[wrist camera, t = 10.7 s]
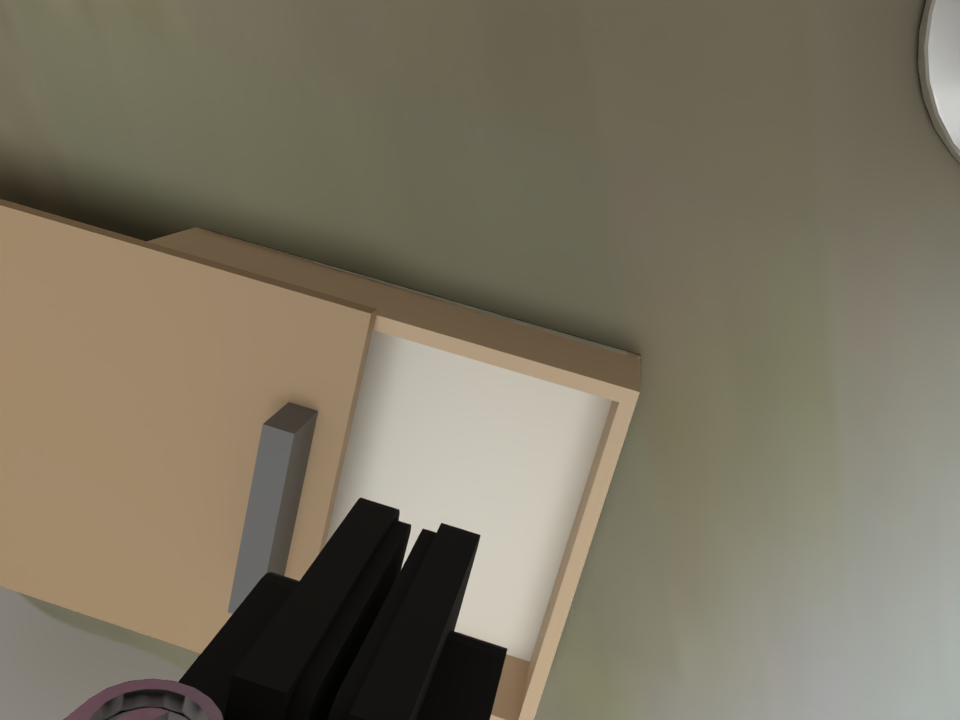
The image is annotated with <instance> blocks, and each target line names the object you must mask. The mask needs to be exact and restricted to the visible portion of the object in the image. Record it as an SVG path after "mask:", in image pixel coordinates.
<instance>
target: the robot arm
mask: <svg viewBox="0 0 960 720" xmlns="http://www.w3.org/2000/svg"><path fill="white" fill-rule="evenodd" d="M918 69H919V75H920V82H921V88H922V94H923V99H924V102H925V104H926V107H927V110H928V112H929V115H930V117H931V120H932V122H933V125H934V128H935V130H936V131H937V133H938V134H939V136H940V137H941V139H942V140H943V142H944V143H945V145H946V146H947V148H948V149H949V151H950V152H951V154H952V155H953V156H954V157H955V158H956V159H957V160H958V161H959V162H960V0H926V4H925V8H924V12H923V17H922V21H921V25H920V30H919V51H918ZM399 515H400V510H399V509H396V508H393V507H390V506H387V505H383V504H380V503H377V502H374V501H371V500H367V499H364V498H359V499H358V500H357V502H356V503H355V504H354V506H353V507H352V509H351V510H350V511H349V513H348V514H347V516H346V517H345V518H344V520H343V521H342V523H341V524H340V525H339V527H338V528H337V530H336V531H335V532H334V534H333V535H332V536H331V538H330V539H329V541H328V542H327V543H326V545H325V546H324V548H323V549H322V550H321V552H320V553H319V555H318V556H317V557H316V559H315V560H314V562H313V563H312V564H311V566H310V567H309V569H308V570H307V571H306V573H305V574H304V576H303V577H302V578H301V580H300V581H298V580H295V579H292V578H289V577H285V576H282V575H279V574H276V573H273V572H268V573H266V574H265V575H264V576H263V577H262V578H261V579H260V581H259V582H258V583H257V584H256V586H255V587H254V588H253V589H252V591H251V592H250V593H249V594H248V596H247V597H246V598H245V599H244V601H243V602H242V603H241V604H240V606H239V607H238V608H237V609H236V611H235V612H234V613H233V614H232V616H231V617H230V618H229V619H228V621H227V622H226V623H225V624H224V626H223V627H222V628H221V629H220V631H219V632H218V633H217V634H216V636H215V637H214V638H213V639H212V641H211V642H210V643H209V644H208V646H207V647H206V648H205V649H204V651H203V652H202V653H201V654H200V656H199V657H198V658H197V659H196V661H195V662H194V663H193V664H192V666H191V667H190V668H189V669H188V671H187V672H186V673H185V674H184V676H183V677H182V678H181V679H180V681H179V682H175V681H169V680H160V679H144V680H133V681H128V682H124V683H121V684H118V685H115V686H112V687H109V688H106V689H105V690H103V691H101V692H100V693H98V694H97V695H95V696H93V697H92V698H90V699H89V700H87V701H86V702H85V703H84V704H82V705H81V706H80V707H79V708H77V709H76V710H75V711H74V712H72V713H71V714H70V715H69V716H67V717H66V718H65V719H64V720H490V717H491V713H492V709H493V705H494V701H495V697H496V693H497V689H498V685H499V681H500V677H501V673H502V669H503V666H504V662H505V658H506V653H507V648H504V647H501V646H498V645H495V644H492V643H489V642H486V641H483V640H480V639H477V638H474V637H470V636H467V635H464V634H461V633H458V632H455V631H454V630H455V627H456V623H457V619H458V616H459V612H460V609H461V605H462V602H463V598H464V594H465V591H466V587H467V584H468V580H469V577H470V573H471V569H472V566H473V562H474V559H475V555H476V552H477V548H478V544H479V540H480V535H479V534H476V533H473V532H470V531H466V530H463V529H460V528H457V527H454V526H450V525H447V524H444V523H441V525H440V526H439V528H438V530H437V533H436V532H433V531H430V530H427V529H422V531H421V533H420V534H419V536H418V538H417V540H416V542H415V544H414V546H413V548H412V550H411V552H410V554H409V556H408V558H407V559H406V561H405V563H404V565H403V567H402V564H403V560H404V556H405V552H406V548H407V544H408V540H409V536H410V532H411V524H408V523H405V522H401V521H399ZM401 568H402V569H401Z"/></svg>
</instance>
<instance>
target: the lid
mask: <svg viewBox="0 0 960 720" xmlns="http://www.w3.org/2000/svg"><path fill="white" fill-rule="evenodd" d="M376 313H377V309H376V308H372V307H369V306H366V305H362V304H359V303H355V302H352V301H348V300H345V299H342V298H338V297H335V296H331V295H328V294H325V293H321V292H318V291H314V290H311V289H307V288H304V287H301V286H297V285H294V284H290V283H287V282H283V281H280V280H277V279H273V278H270V277H266V276H263V275H260V274H256V273H253V272H249V271H246V270H242V269H239V268H236V267H232V266H229V265H225V264H222V263H218V262H215V261H212V260H208V259H205V258H201V257H198V256H195V255H191V254H188V253H184V252H181V251H177V250H174V249H171V248H167V247H164V246H160V245H157V244H153V243H150V242H147V241H143V240H140V239H136V238H133V237H129V236H126V235H123V234H119V233H116V232H112V231H109V230H106V229H102V228H99V227H95V226H92V225H88V224H85V223H82V222H78V221H75V220H71V219H68V218H64V217H61V216H58V215H54V214H51V213H47V212H44V211H41V210H37V209H34V208H30V207H27V206H23V205H20V204H17V203H13V202H10V201H6V200H3V199H0V586H2V587H5V588H8V589H11V590H13V591H17V592H19V593H22V594H25V595H28V596H31V597H34V598H37V599H40V600H43V601H46V602H49V603H52V604H55V605H58V606H61V607H64V608H67V609H70V610H73V611H76V612H79V613H82V614H85V615H88V616H91V617H94V618H97V619H100V620H103V621H106V622H109V623H112V624H115V625H118V626H121V627H124V628H127V629H130V630H133V631H136V632H139V633H142V634H145V635H148V636H151V637H153V638H156V639H159V640H162V641H165V642H168V643H171V644H174V645H177V646H180V647H183V648H186V649H189V650H192V651H195V652H198V653H202V652H203V651H204V649H205V648H206V647H207V646H208V644H209V643H210V642H211V641H212V639H213V638H214V637H215V636H216V634H217V633H218V632H219V631H220V629H221V628H222V627H223V626H224V624H225V623H226V622H227V621H228V619H229V618H230V617H231V616H232V614H233V613H234V612H235V611H236V609H237V608H238V607H239V606H240V604H241V603H242V602H243V601H244V599H245V598H246V597H247V596H248V594H249V593H250V592H251V591H252V589H253V588H254V587H255V586H256V584H257V583H258V582H259V581H260V579H261V578H262V577H263V576H264V575H265V574H266V573H268V572H273V573H276V574H279V575H282V576H285V577H289V578H292V579H295V580H298V581H300V580H301V578H302V577H303V576H304V574H305V573H306V571H307V570H308V569H309V567H310V566H311V564H312V563H313V562H314V560H315V559H316V557H317V556H318V555H319V553H320V552H321V550H322V549H323V548H324V546H325V545H326V540H327V536H328V531H329V527H330V522H331V517H332V513H333V508H334V504H335V499H336V495H337V490H338V486H339V481H340V477H341V472H342V467H343V463H344V458H345V454H346V449H347V445H348V440H349V436H350V431H351V427H352V422H353V417H354V413H355V408H356V404H357V399H358V395H359V390H360V386H361V381H362V377H363V372H364V367H365V363H366V358H367V354H368V349H369V345H370V340H371V336H372V331H373V327H374V322H375V317H376Z"/></svg>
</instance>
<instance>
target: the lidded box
mask: <svg viewBox="0 0 960 720" xmlns="http://www.w3.org/2000/svg"><path fill="white" fill-rule="evenodd" d="M147 242H150V243H153V244H157V245H160V246H164V247H167V248H171V249H174V250H177V251H181V252H184V253H188V254H191V255H195V256H198V257H201V258H205V259H208V260H212V261H215V262H218V263H222V264H225V265H229V266H232V267H236V268H239V269H242V270H246V271H249V272H253V273H256V274H260V275H263V276H266V277H270V278H273V279H277V280H280V281H283V282H287V283H290V284H294V285H297V286H301V287H304V288H307V289H311V290H314V291H318V292H321V293H325V294H328V295H331V296H335V297H338V298H342V299H345V300H348V301H352V302H355V303H359V304H362V305H366V306H369V307H372V308H376V309H377V313H376V317H375V322H374V327H373V331H372V336H371V340H370V345H369V349H368V354H367V358H366V363H365V367H364V372H363V377H362V381H361V386H360V390H359V395H358V399H357V404H356V408H355V413H354V417H353V422H352V427H351V431H350V436H349V440H348V445H347V449H346V454H345V458H344V463H343V467H342V472H341V477H340V481H339V486H338V490H337V495H336V499H335V504H334V508H333V513H332V517H331V522H330V527H329V531H328V536H327V540H326V543H327V542H328V541H329V539H330V538H331V536H332V535H333V534H334V532H335V531H336V530H337V528H338V527H339V525H340V524H341V523H342V521H343V520H344V518H345V517H346V516H347V514H348V513H349V511H350V510H351V509H352V507H353V506H354V504H355V503H356V502H357V500H358V499H359V498H364V499H367V500H371V501H374V502H377V503H380V504H383V505H387V506H390V507H393V508H396V509H399V510H400V515H399V521H401V522H405V523H408V524H411V532H410V536H409V540H408V544H407V548H406V552H405V556H404V560H403V564H402V567H403V565H404V563H405V561H406V559H407V558H408V556H409V554H410V552H411V550H412V548H413V546H414V544H415V542H416V540H417V538H418V536H419V534H420V533H421V531H422V529H427V530H430V531H433V532H436V533H437V530H438V528H439V526H440V525H441V523H444V524H447V525H450V526H454V527H457V528H460V529H463V530H466V531H470V532H473V533H476V534H479V535H480V540H479V544H478V548H477V552H476V555H475V559H474V562H473V566H472V569H471V573H470V577H469V580H468V584H467V587H466V591H465V594H464V598H463V602H462V605H461V609H460V612H459V616H458V619H457V623H456V627H455V630H454V631H455V632H458V633H461V634H464V635H467V636H470V637H474V638H477V639H480V640H483V641H486V642H489V643H492V644H495V645H498V646H501V647H504V648H507V653H506V658H505V662H504V666H503V669H502V673H501V677H500V681H499V685H498V689H497V693H496V697H495V701H494V705H493V709H492V713H491V717H490V720H534V717H535V714H536V711H537V708H538V705H539V702H540V699H541V696H542V693H543V690H544V686H545V683H546V680H547V677H548V674H549V671H550V668H551V665H552V662H553V659H554V656H555V653H556V649H557V646H558V643H559V640H560V637H561V634H562V631H563V628H564V625H565V622H566V619H567V615H568V612H569V609H570V606H571V603H572V600H573V597H574V594H575V591H576V588H577V585H578V581H579V578H580V575H581V572H582V569H583V566H584V563H585V560H586V557H587V554H588V551H589V548H590V544H591V541H592V538H593V535H594V532H595V529H596V526H597V523H598V520H599V517H600V514H601V510H602V507H603V504H604V501H605V498H606V495H607V492H608V489H609V486H610V483H611V480H612V477H613V473H614V470H615V467H616V464H617V461H618V458H619V455H620V452H621V449H622V446H623V443H624V439H625V436H626V433H627V430H628V427H629V424H630V421H631V418H632V415H633V412H634V409H635V406H636V402H637V399H638V396H639V393H640V367H641V355H638V354H634V353H631V352H627V351H624V350H620V349H617V348H613V347H610V346H606V345H603V344H599V343H596V342H593V341H589V340H586V339H582V338H579V337H575V336H572V335H568V334H565V333H561V332H558V331H554V330H551V329H548V328H544V327H541V326H537V325H534V324H530V323H527V322H523V321H520V320H516V319H513V318H510V317H506V316H503V315H499V314H496V313H492V312H489V311H485V310H482V309H478V308H475V307H471V306H468V305H465V304H461V303H458V302H454V301H451V300H447V299H444V298H440V297H437V296H433V295H430V294H426V293H423V292H420V291H416V290H413V289H409V288H406V287H402V286H399V285H395V284H392V283H388V282H385V281H382V280H378V279H375V278H371V277H368V276H364V275H361V274H357V273H354V272H350V271H347V270H343V269H340V268H337V267H333V266H330V265H326V264H323V263H319V262H316V261H312V260H309V259H305V258H302V257H298V256H295V255H292V254H288V253H285V252H281V251H278V250H274V249H271V248H267V247H264V246H260V245H257V244H254V243H250V242H247V241H243V240H240V239H236V238H233V237H229V236H226V235H222V234H219V233H215V232H212V231H209V230H205V229H202V228H198V227H194V228H191V229H187V230H184V231H181V232H177V233H174V234H170V235H167V236H163V237H160V238H157V239H153V240H150V241H147ZM401 569H402V568H401Z"/></svg>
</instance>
